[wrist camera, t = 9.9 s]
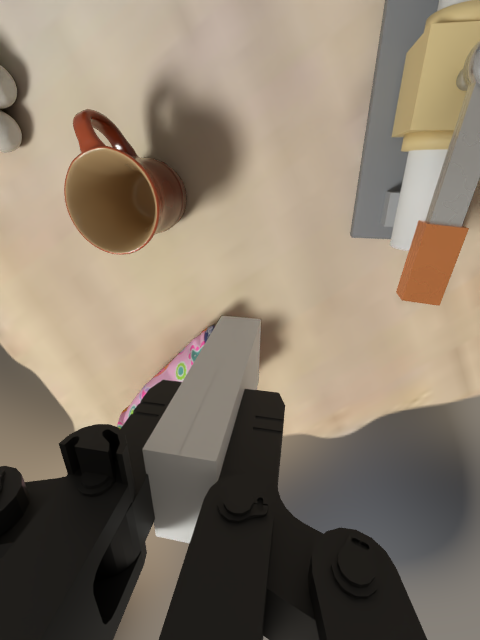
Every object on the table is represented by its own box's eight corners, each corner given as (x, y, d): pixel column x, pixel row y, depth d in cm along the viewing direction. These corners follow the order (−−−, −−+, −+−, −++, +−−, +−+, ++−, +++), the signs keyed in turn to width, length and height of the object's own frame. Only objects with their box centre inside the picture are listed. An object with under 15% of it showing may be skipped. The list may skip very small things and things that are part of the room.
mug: (207, 221, 37) (174, 238, 28) (143, 243, 40) (94, 266, 31) (165, 105, 33) (110, 80, 24) (97, 138, 36) (24, 128, 27)
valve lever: (473, 31, 19) (489, 18, 17) (530, 33, 18) (552, 20, 17) (393, 291, 26) (399, 299, 24) (433, 297, 25) (442, 305, 24)
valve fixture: (398, -85, 25) (456, -252, 15) (547, -102, 23) (722, -302, 13) (350, 234, 35) (366, 260, 25) (451, 239, 33) (511, 268, 23)
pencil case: (221, 308, 42) (200, 341, 34) (270, 355, 43) (262, 398, 35) (131, 393, 51) (98, 435, 43) (175, 429, 52) (151, 477, 44)
